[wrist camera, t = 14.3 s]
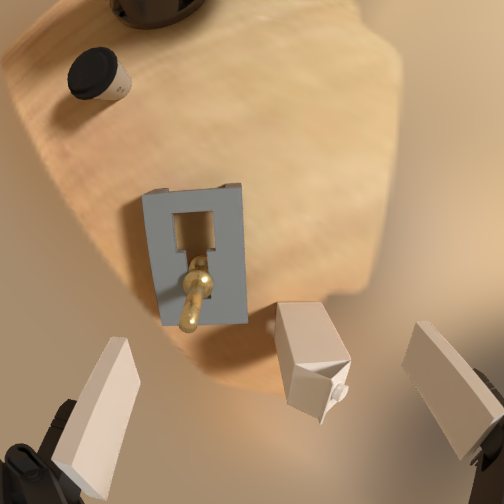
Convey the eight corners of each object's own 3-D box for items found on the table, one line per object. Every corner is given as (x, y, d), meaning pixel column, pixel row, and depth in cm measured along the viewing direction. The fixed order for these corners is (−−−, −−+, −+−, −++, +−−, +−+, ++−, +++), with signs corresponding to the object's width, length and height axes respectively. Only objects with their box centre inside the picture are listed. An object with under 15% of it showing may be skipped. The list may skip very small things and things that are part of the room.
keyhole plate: (154, 189, 38) (141, 195, 33) (240, 182, 39) (241, 187, 33) (170, 305, 44) (162, 325, 39) (246, 302, 45) (248, 323, 39)
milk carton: (273, 338, 47) (291, 427, 29) (277, 301, 45) (300, 388, 27) (314, 337, 48) (348, 421, 30) (320, 300, 45) (363, 381, 27)
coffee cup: (131, 56, 32) (104, 32, 22) (146, 93, 34) (120, 77, 24) (91, 79, 32) (57, 65, 23) (104, 117, 34) (70, 109, 25)
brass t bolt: (188, 255, 41) (165, 309, 27) (214, 254, 41) (204, 308, 27) (191, 280, 42) (172, 341, 28) (216, 279, 42) (209, 340, 28)
